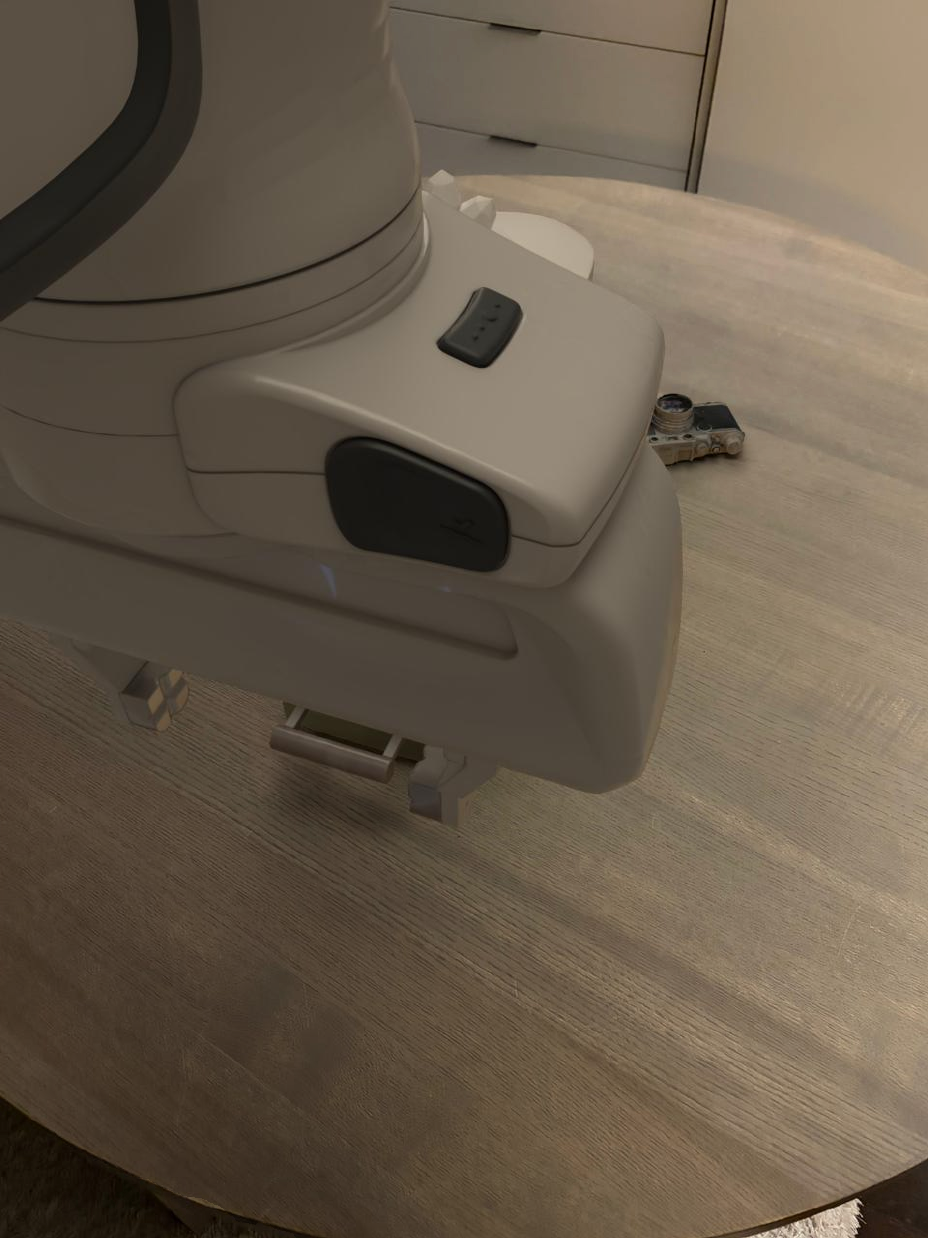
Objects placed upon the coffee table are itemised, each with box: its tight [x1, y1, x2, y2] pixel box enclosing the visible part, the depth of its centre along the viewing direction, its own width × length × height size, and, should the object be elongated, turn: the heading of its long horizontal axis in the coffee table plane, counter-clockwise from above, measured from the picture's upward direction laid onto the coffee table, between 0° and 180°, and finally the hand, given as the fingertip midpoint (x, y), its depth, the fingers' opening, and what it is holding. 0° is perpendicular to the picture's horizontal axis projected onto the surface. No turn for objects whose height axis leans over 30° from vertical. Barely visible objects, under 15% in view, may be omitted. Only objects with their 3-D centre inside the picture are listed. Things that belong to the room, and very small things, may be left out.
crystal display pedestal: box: [424, 169, 595, 282], centre depth 91 cm, size 25×25×16 cm
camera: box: [645, 392, 746, 466], centre depth 84 cm, size 5×10×4 cm, turn 98°
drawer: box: [269, 701, 426, 785], centre depth 63 cm, size 18×11×7 cm, turn 159°
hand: (295, 755), depth 30 cm, fingers open, 8 cm apart
